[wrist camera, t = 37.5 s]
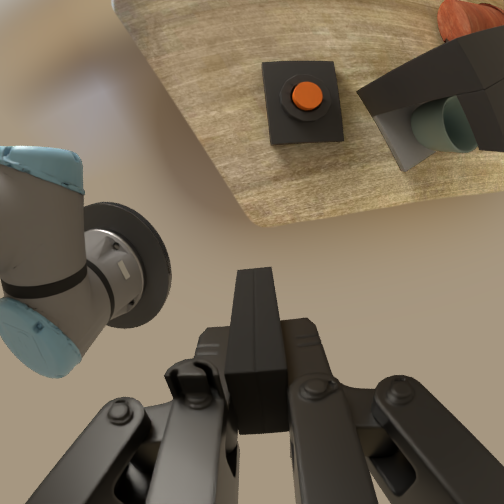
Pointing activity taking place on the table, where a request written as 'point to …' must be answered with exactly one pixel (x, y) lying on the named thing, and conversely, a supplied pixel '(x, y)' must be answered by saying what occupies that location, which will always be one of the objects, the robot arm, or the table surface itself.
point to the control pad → (293, 118)
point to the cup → (443, 126)
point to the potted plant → (466, 18)
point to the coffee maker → (443, 93)
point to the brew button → (307, 96)
